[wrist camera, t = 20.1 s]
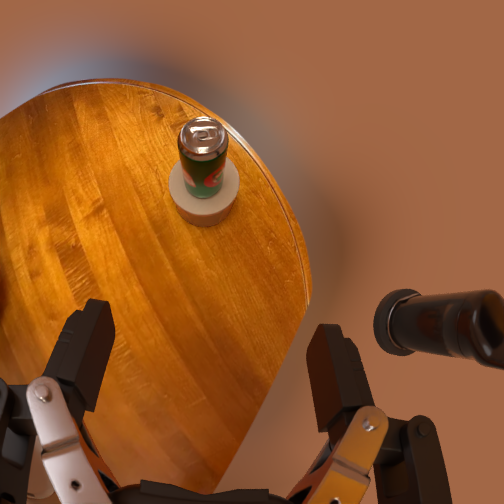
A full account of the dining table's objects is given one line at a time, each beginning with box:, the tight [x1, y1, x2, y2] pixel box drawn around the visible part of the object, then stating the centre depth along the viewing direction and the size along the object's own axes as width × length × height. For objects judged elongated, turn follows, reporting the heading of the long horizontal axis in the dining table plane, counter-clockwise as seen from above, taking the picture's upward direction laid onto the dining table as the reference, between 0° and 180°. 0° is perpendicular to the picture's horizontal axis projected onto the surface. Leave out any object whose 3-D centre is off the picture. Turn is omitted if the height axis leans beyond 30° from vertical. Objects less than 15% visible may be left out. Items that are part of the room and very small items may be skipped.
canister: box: [169, 157, 239, 227], centre depth 42 cm, size 9×9×7 cm
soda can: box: [177, 117, 229, 198], centre depth 33 cm, size 5×5×12 cm
